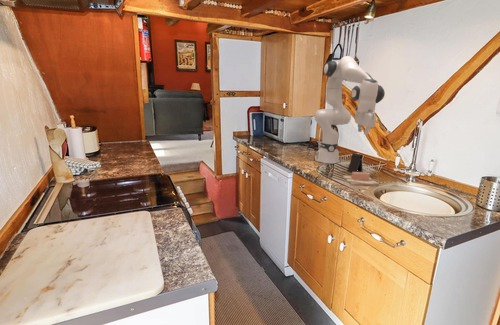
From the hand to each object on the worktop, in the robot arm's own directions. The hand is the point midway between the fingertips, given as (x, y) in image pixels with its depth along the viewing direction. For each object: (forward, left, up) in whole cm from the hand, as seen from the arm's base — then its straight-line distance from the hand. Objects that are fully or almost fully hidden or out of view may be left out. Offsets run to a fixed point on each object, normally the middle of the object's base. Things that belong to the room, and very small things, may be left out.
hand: (362, 133), depth 162 cm
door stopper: (-20, +7, -29) cm, 36 cm away
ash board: (+1, +2, -29) cm, 29 cm away
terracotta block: (+1, -2, -26) cm, 26 cm away
